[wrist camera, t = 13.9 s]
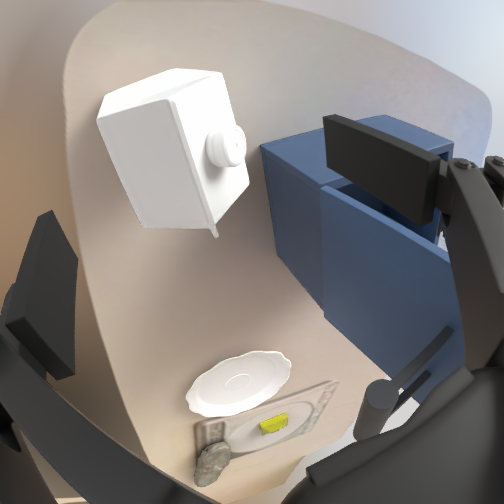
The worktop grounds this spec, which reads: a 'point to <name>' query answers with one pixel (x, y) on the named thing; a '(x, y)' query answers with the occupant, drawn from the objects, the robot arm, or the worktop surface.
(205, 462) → the elongated rock
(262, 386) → the plate
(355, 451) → the robot arm
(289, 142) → the cool box
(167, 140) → the milk carton
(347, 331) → the cool box lid
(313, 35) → the worktop surface
